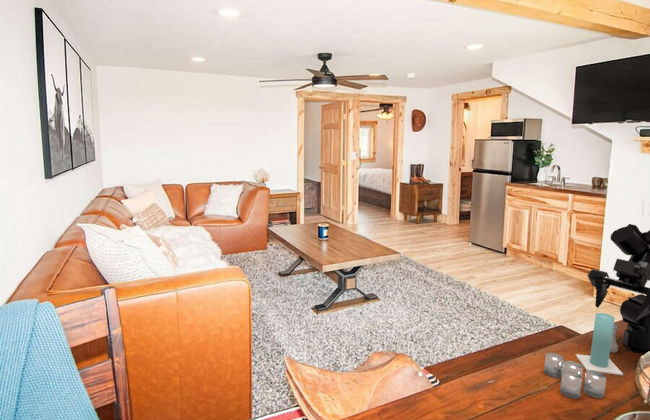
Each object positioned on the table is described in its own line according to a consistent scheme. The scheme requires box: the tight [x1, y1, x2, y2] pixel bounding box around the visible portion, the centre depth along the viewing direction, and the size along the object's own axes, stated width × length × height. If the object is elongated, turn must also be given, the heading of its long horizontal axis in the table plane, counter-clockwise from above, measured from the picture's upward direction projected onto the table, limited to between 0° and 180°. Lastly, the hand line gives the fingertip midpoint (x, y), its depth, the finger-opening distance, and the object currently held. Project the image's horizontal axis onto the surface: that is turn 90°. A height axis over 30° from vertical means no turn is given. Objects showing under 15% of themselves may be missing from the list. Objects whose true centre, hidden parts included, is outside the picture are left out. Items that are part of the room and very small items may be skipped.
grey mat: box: [575, 353, 624, 376], centre depth 106 cm, size 8×8×1 cm
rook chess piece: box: [610, 321, 619, 354], centre depth 114 cm, size 4×4×8 cm
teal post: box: [589, 312, 615, 368], centre depth 105 cm, size 4×4×13 cm
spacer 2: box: [563, 360, 584, 377], centre depth 98 cm, size 4×4×4 cm
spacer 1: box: [543, 352, 565, 379], centre depth 101 cm, size 4×4×4 cm
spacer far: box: [559, 371, 584, 400], centre depth 93 cm, size 4×4×4 cm
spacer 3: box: [582, 370, 607, 399], centre depth 93 cm, size 4×4×4 cm
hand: (615, 312), depth 106 cm, fingers open, 9 cm apart
